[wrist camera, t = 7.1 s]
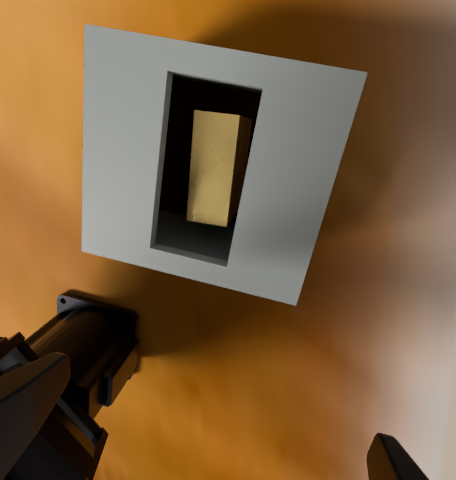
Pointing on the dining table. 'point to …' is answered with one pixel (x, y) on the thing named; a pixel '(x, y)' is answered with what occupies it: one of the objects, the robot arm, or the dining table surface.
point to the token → (217, 166)
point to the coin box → (258, 169)
